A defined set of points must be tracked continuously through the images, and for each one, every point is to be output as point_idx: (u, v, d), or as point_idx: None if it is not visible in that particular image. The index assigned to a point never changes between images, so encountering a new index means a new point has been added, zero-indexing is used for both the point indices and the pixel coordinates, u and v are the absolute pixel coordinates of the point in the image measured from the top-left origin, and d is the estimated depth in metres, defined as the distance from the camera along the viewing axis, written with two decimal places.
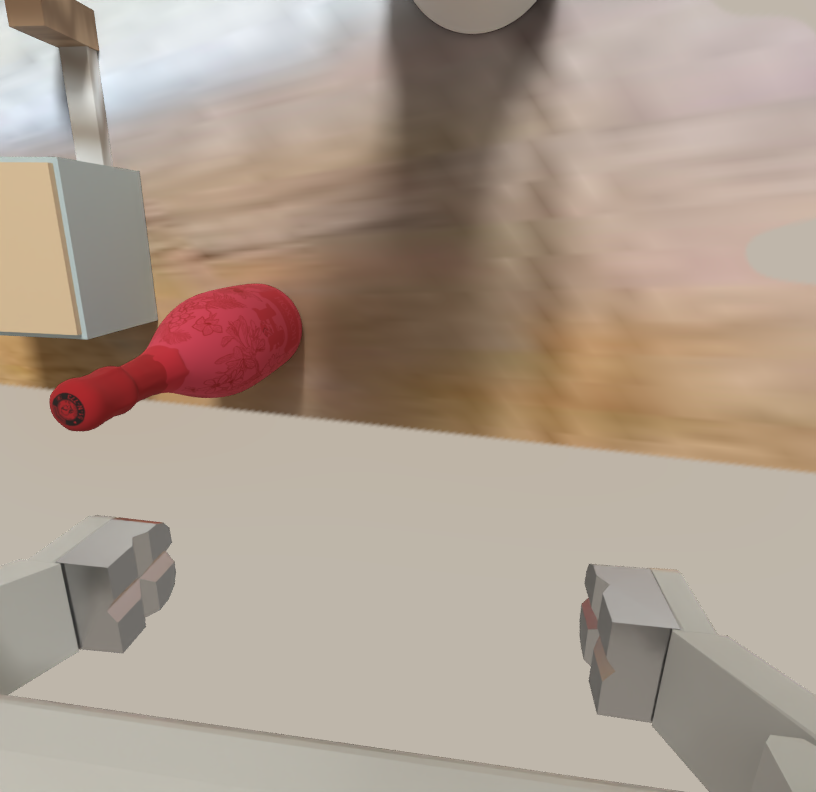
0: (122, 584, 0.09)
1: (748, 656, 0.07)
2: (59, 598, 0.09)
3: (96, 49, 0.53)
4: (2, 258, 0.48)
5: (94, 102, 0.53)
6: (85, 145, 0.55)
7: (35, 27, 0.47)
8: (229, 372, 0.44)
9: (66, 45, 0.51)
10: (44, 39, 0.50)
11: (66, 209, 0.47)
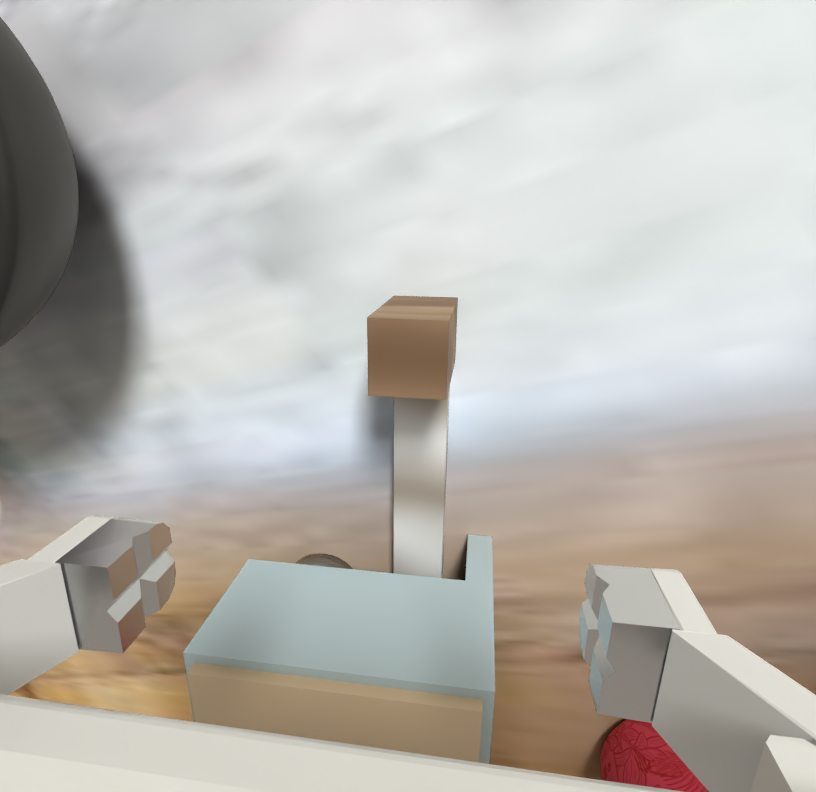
0: (122, 584, 0.09)
1: (748, 656, 0.07)
2: (59, 598, 0.09)
3: (454, 361, 0.29)
4: None
5: (445, 450, 0.30)
6: (414, 509, 0.31)
7: (419, 396, 0.23)
8: None
9: None
10: None
11: None
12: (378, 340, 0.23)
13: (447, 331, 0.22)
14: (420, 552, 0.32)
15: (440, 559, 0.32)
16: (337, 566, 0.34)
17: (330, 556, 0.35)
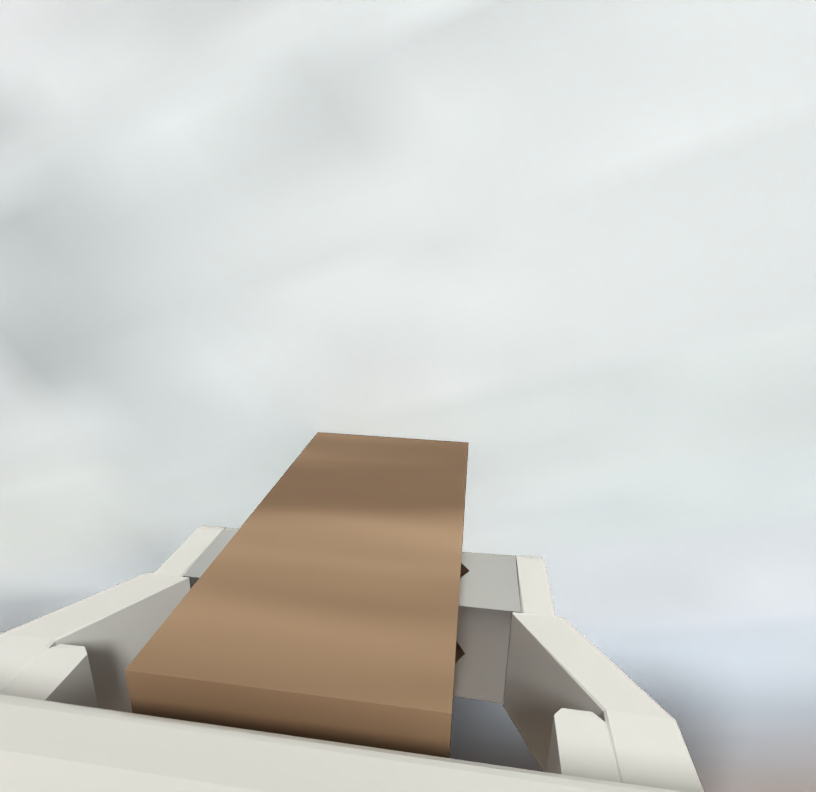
0: None
1: (575, 637, 0.07)
2: None
3: None
4: None
5: None
6: None
7: None
8: None
9: None
10: None
11: None
12: None
13: (443, 747, 0.05)
14: None
15: None
16: None
17: None
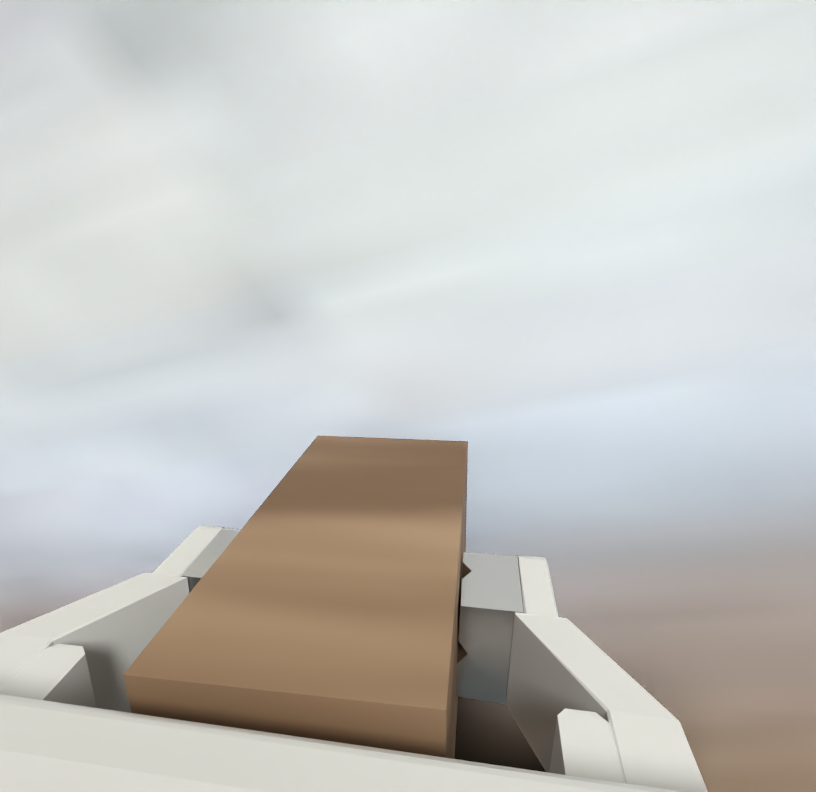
0: None
1: (578, 637, 0.07)
2: None
3: None
4: None
5: None
6: None
7: None
8: None
9: None
10: None
11: None
12: None
13: (439, 744, 0.05)
14: None
15: None
16: None
17: None
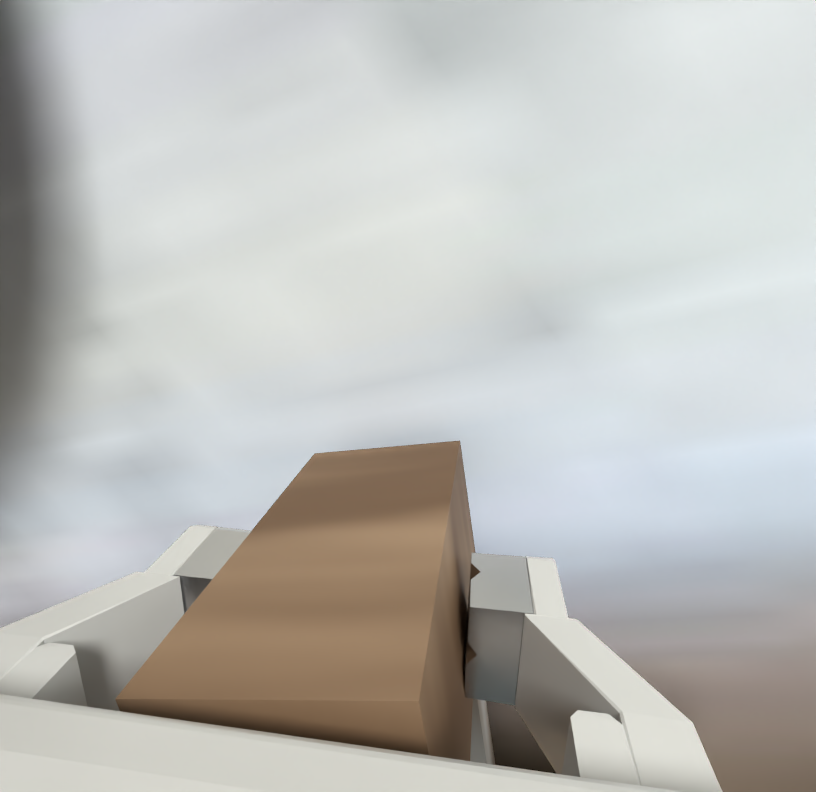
0: None
1: (588, 638, 0.07)
2: (177, 612, 0.08)
3: None
4: None
5: None
6: None
7: None
8: None
9: None
10: None
11: None
12: None
13: (419, 736, 0.05)
14: None
15: None
16: None
17: None
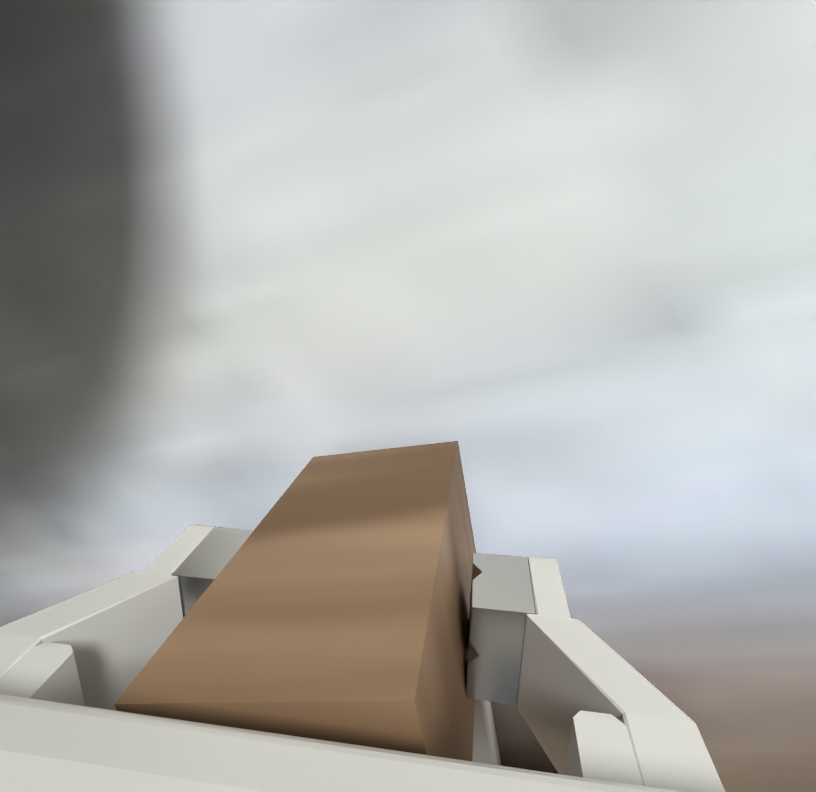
0: None
1: (591, 638, 0.07)
2: (175, 612, 0.08)
3: None
4: None
5: None
6: None
7: None
8: None
9: None
10: None
11: None
12: None
13: (416, 735, 0.05)
14: None
15: None
16: None
17: None
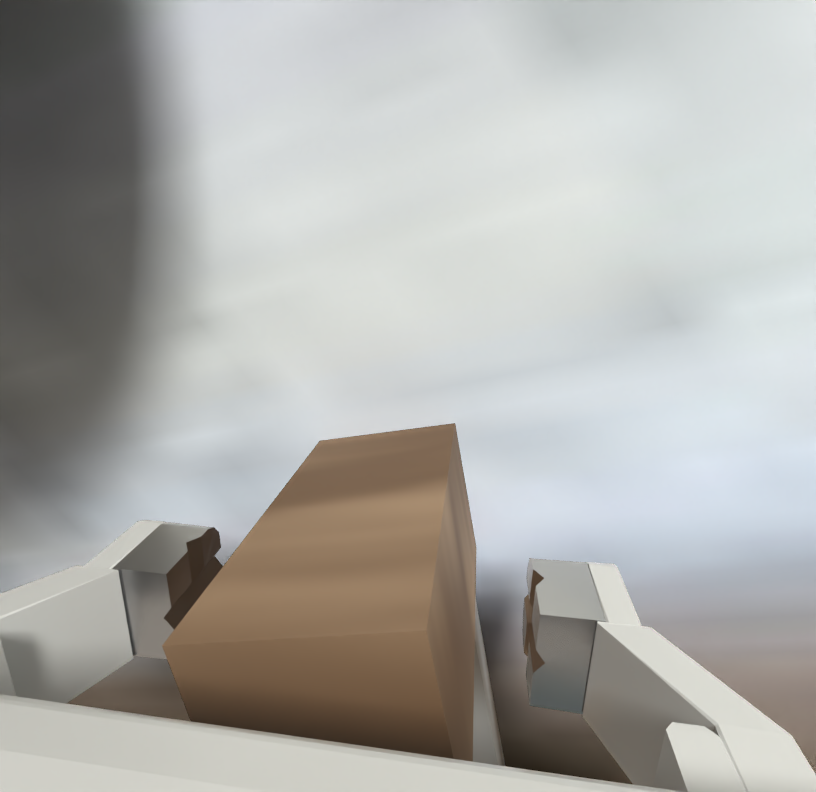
0: (178, 590, 0.09)
1: (667, 647, 0.07)
2: (116, 605, 0.09)
3: None
4: None
5: (493, 743, 0.14)
6: None
7: None
8: None
9: None
10: None
11: None
12: (215, 703, 0.07)
13: (428, 662, 0.06)
14: None
15: None
16: None
17: None
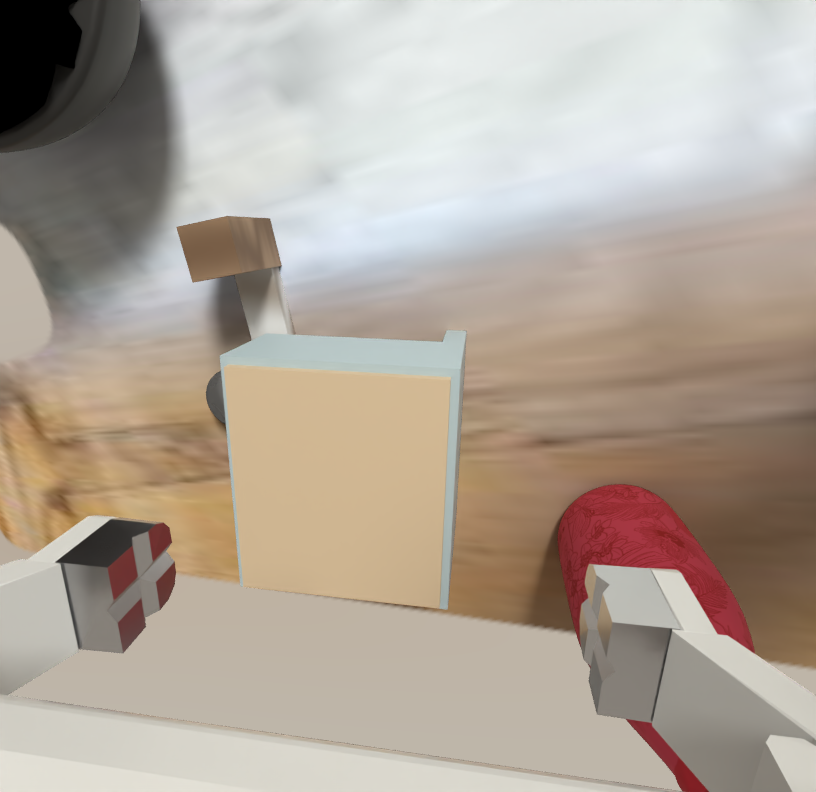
0: (122, 584, 0.09)
1: (748, 656, 0.07)
2: (59, 598, 0.09)
3: None
4: (341, 503, 0.32)
5: (287, 332, 0.40)
6: None
7: (226, 275, 0.34)
8: None
9: (246, 272, 0.39)
10: (224, 276, 0.37)
11: (456, 440, 0.30)
12: (187, 241, 0.33)
13: (227, 224, 0.33)
14: None
15: None
16: None
17: None
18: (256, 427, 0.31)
